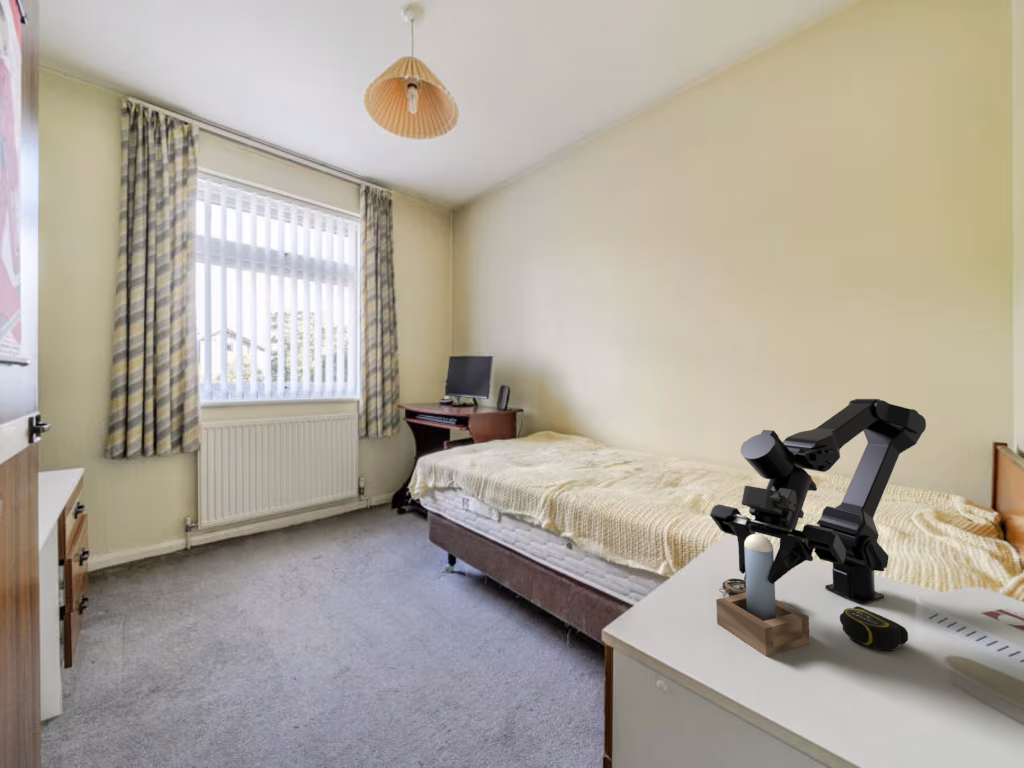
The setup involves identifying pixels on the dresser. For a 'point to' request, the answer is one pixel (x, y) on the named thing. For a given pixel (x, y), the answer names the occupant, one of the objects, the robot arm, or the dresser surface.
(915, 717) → the dresser surface
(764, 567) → the dome-topped blue cylinder
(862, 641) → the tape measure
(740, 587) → the compass
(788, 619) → the open wooden box
